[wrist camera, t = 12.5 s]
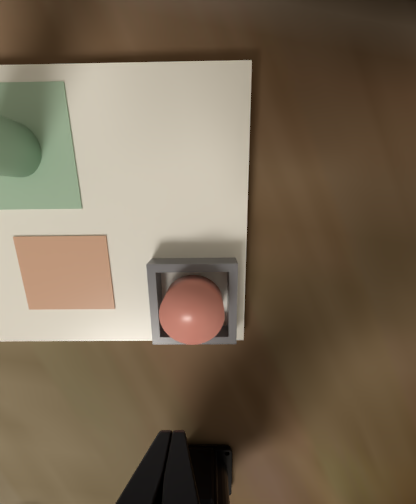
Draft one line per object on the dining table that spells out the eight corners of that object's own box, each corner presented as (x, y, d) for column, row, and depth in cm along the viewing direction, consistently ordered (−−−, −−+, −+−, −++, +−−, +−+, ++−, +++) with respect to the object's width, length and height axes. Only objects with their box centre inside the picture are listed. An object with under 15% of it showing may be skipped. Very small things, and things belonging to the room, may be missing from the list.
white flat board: (241, 333, 20) (246, 352, 17) (-5, 334, 20) (-36, 354, 18) (249, 68, 15) (257, 43, 12) (-75, 75, 15) (-132, 51, 13)
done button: (222, 328, 17) (224, 344, 16) (166, 328, 18) (161, 344, 16) (223, 274, 16) (224, 285, 14) (163, 275, 16) (156, 285, 15)
